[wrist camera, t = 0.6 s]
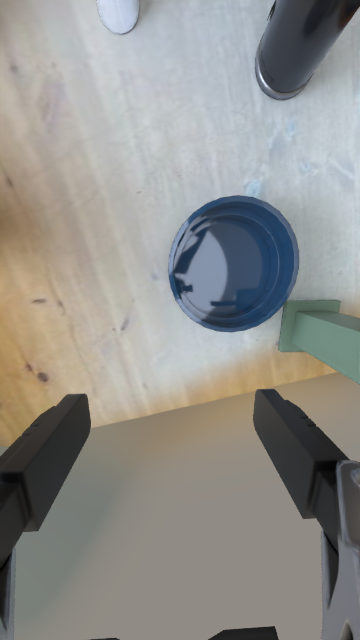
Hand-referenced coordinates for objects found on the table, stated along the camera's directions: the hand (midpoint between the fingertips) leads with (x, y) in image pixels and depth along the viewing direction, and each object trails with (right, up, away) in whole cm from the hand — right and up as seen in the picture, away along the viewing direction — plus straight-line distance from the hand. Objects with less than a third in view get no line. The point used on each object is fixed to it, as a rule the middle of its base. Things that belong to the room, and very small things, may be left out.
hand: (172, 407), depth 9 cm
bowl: (+9, +14, +28) cm, 33 cm away
